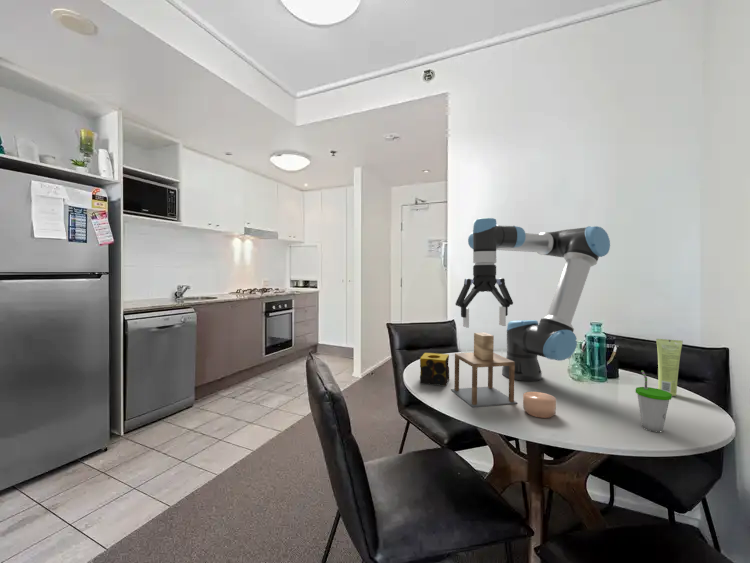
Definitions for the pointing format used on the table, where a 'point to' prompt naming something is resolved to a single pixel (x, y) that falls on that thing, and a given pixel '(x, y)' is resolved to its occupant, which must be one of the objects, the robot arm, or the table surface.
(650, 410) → the cup
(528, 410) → the peach rounded disc
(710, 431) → the table surface
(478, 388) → the mat
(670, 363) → the tube
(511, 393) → the wooden side table
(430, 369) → the candle
